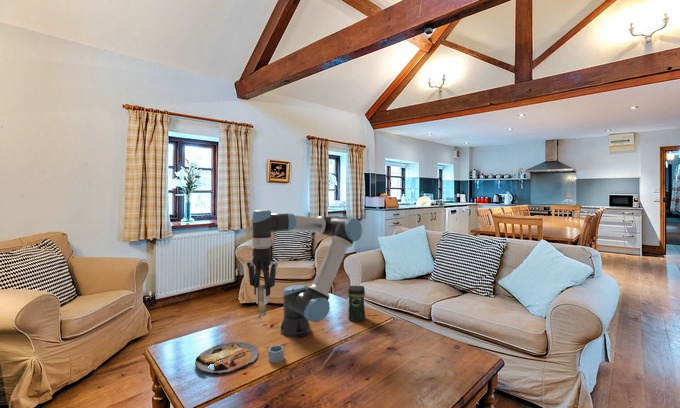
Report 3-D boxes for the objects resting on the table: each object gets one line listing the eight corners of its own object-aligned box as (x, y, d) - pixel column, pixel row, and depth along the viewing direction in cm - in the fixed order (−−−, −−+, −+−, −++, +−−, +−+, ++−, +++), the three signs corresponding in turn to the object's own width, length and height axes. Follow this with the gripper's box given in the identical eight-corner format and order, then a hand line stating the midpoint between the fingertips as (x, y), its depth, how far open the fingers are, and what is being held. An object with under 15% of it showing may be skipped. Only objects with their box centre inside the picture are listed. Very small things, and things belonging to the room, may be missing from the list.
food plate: (210, 384, 116) (210, 375, 116) (186, 361, 132) (186, 353, 132) (268, 360, 134) (268, 351, 134) (240, 342, 150) (240, 335, 150)
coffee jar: (365, 316, 178) (365, 284, 177) (365, 322, 170) (365, 288, 169) (348, 315, 179) (348, 283, 178) (347, 321, 171) (347, 287, 170)
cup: (273, 355, 136) (273, 344, 136) (286, 357, 134) (286, 346, 134) (265, 362, 130) (265, 351, 130) (278, 365, 128) (278, 353, 128)
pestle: (261, 313, 133) (261, 283, 133) (267, 314, 132) (267, 283, 132) (257, 316, 130) (257, 285, 130) (263, 316, 130) (263, 285, 129)
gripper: (240, 247, 129) (240, 303, 130) (274, 249, 124) (275, 308, 125) (250, 244, 136) (250, 298, 137) (283, 246, 132) (283, 301, 132)
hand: (262, 302), depth 131 cm, fingers closed on pestle, 3 cm apart
